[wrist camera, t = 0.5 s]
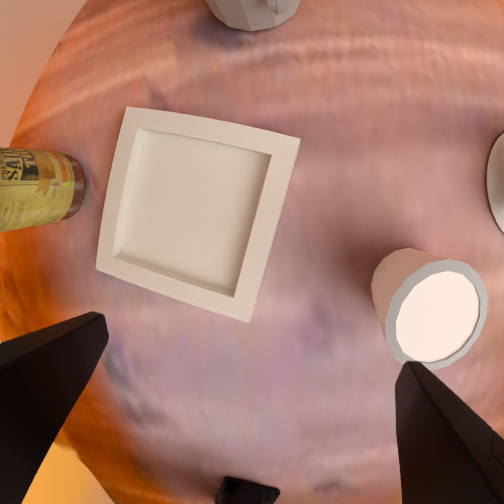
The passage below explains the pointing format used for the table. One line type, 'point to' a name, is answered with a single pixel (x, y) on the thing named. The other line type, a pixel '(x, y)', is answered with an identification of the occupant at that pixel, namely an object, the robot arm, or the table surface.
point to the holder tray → (194, 207)
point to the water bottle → (253, 12)
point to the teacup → (496, 181)
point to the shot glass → (428, 306)
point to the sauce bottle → (38, 187)
